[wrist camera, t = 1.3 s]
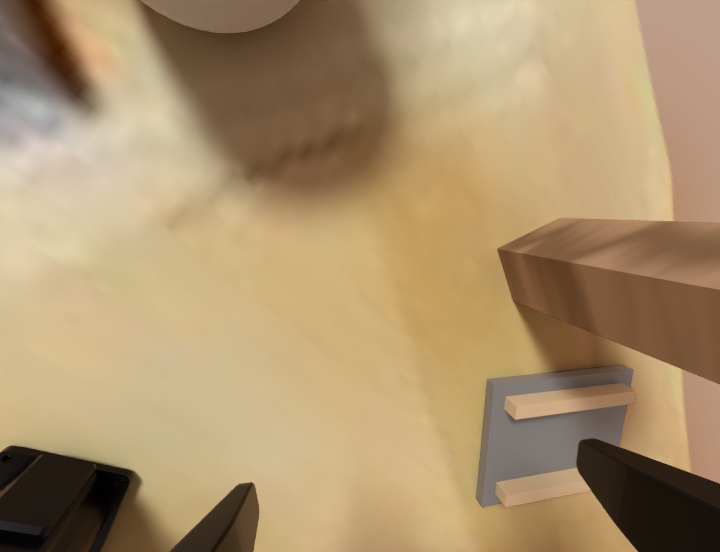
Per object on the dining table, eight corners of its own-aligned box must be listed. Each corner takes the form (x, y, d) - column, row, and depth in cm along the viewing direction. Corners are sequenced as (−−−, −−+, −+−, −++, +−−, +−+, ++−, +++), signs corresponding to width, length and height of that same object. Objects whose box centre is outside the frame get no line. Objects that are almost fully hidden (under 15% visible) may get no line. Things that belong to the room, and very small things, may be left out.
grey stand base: (476, 498, 26) (491, 521, 24) (487, 379, 24) (504, 394, 22) (603, 474, 28) (626, 493, 26) (623, 365, 26) (649, 377, 24)
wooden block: (513, 301, 23) (782, 410, 10) (497, 248, 22) (775, 300, 9) (573, 271, 24) (895, 340, 11) (560, 218, 22) (900, 228, 10)
